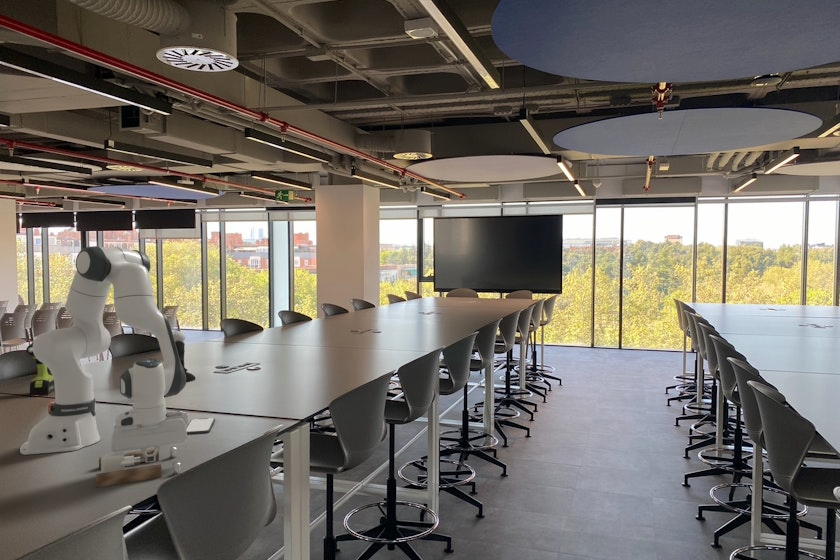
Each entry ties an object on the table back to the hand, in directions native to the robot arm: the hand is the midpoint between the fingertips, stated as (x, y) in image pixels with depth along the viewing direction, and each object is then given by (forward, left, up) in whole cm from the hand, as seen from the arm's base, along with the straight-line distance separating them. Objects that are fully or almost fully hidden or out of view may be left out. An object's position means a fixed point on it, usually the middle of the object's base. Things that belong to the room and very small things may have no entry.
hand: (150, 461), depth 166 cm
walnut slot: (-6, 0, -2) cm, 6 cm away
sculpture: (+16, +126, -2) cm, 127 cm away
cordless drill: (-42, +124, -2) cm, 131 cm away
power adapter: (-7, 0, -2) cm, 7 cm away
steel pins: (+6, 0, -2) cm, 7 cm away
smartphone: (+17, +37, -3) cm, 41 cm away
